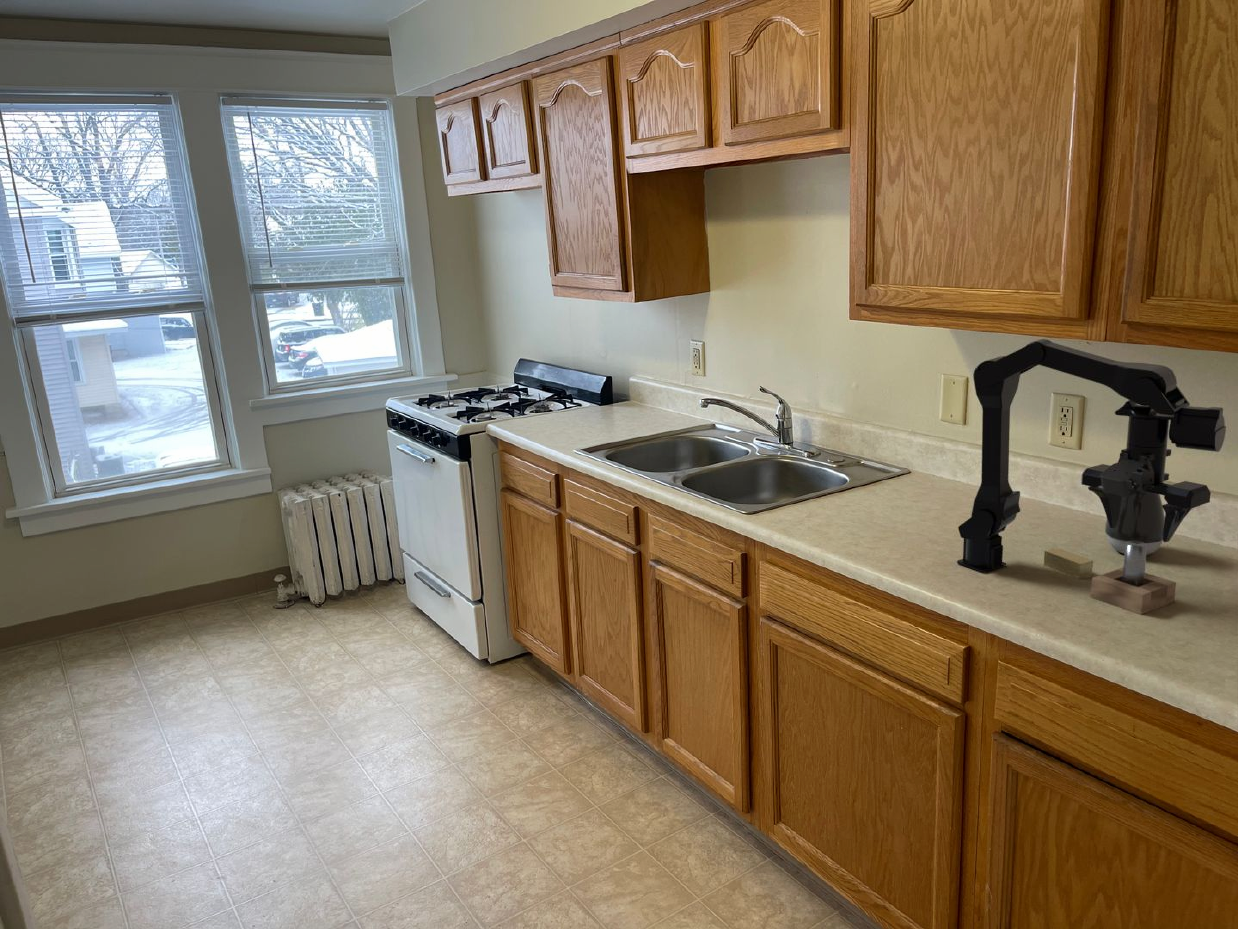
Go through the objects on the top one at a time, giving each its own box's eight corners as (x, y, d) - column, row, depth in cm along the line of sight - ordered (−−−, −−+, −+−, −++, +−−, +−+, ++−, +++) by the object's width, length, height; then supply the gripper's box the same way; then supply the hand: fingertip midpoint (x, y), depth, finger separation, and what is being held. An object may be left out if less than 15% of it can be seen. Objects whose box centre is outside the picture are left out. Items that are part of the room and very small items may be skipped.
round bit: (1116, 598, 157) (1121, 543, 154) (1128, 594, 158) (1133, 539, 156) (1134, 604, 154) (1139, 548, 151) (1146, 600, 155) (1151, 544, 153)
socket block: (1090, 597, 158) (1092, 578, 157) (1123, 585, 162) (1125, 566, 161) (1141, 614, 150) (1142, 594, 149) (1174, 601, 154) (1176, 582, 153)
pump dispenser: (1099, 556, 176) (1106, 480, 172) (1106, 539, 184) (1112, 466, 180) (1161, 564, 170) (1169, 486, 166) (1165, 547, 178) (1173, 471, 175)
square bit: (1043, 566, 173) (1044, 550, 172) (1056, 563, 174) (1057, 547, 173) (1078, 580, 166) (1080, 564, 165) (1091, 577, 167) (1093, 560, 166)
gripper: (1062, 441, 154) (1057, 530, 157) (1173, 462, 137) (1164, 560, 141) (1105, 431, 159) (1099, 517, 162) (1217, 450, 142) (1207, 545, 146)
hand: (1138, 534), depth 153 cm, fingers open, 9 cm apart
